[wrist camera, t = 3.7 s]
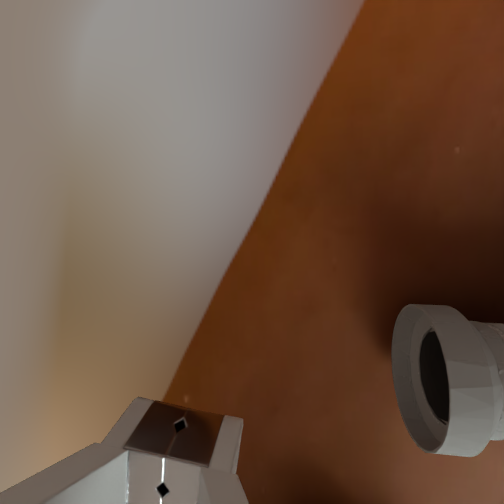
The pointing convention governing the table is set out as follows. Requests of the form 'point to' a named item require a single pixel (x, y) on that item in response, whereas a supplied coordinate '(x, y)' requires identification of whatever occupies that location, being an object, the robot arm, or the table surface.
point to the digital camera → (448, 379)
